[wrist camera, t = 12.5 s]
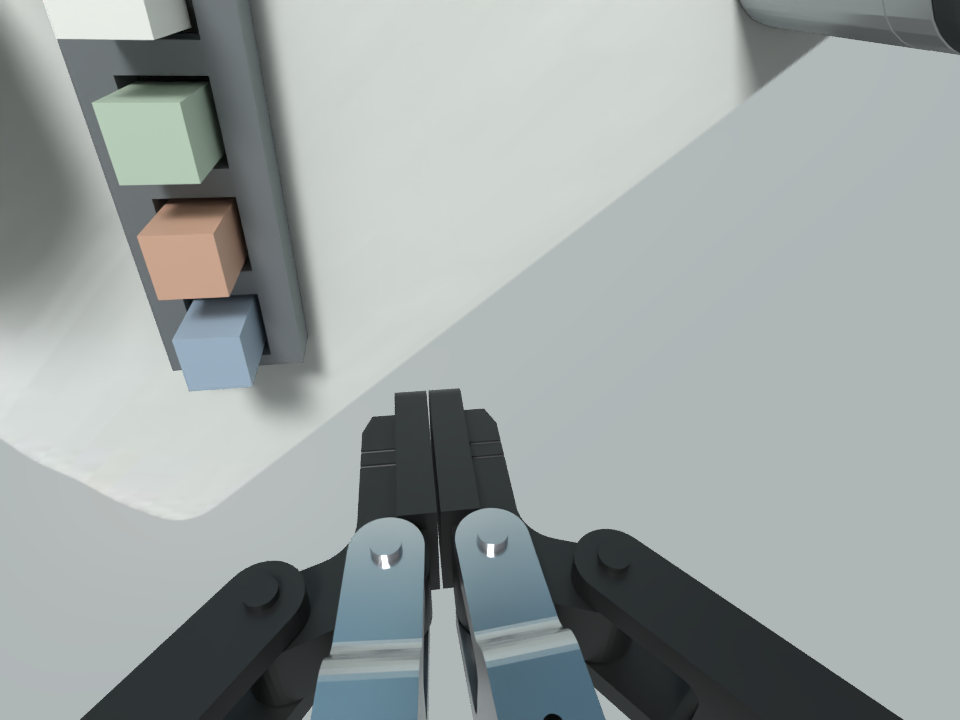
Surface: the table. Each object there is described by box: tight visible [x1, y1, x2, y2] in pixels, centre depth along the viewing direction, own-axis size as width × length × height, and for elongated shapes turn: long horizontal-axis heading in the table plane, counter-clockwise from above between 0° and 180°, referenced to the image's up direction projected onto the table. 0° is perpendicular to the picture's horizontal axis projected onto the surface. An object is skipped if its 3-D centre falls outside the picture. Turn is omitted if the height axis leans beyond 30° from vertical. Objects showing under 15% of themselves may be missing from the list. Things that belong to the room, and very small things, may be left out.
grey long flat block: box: [57, 0, 308, 371], centre depth 39 cm, size 10×30×4 cm, turn 178°
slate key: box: [172, 294, 267, 391], centre depth 43 cm, size 4×4×7 cm
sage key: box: [92, 81, 226, 185], centre depth 34 cm, size 4×4×7 cm
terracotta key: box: [137, 197, 248, 300], centre depth 39 cm, size 4×4×7 cm
